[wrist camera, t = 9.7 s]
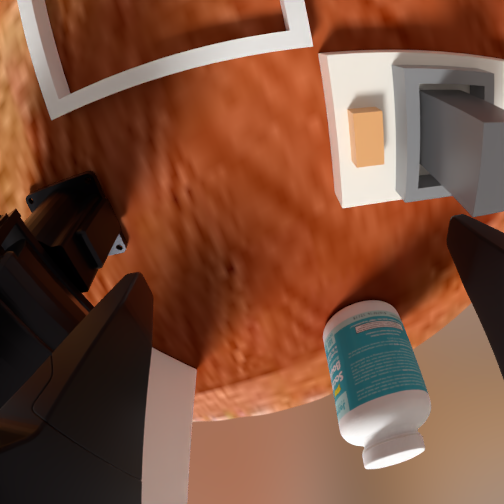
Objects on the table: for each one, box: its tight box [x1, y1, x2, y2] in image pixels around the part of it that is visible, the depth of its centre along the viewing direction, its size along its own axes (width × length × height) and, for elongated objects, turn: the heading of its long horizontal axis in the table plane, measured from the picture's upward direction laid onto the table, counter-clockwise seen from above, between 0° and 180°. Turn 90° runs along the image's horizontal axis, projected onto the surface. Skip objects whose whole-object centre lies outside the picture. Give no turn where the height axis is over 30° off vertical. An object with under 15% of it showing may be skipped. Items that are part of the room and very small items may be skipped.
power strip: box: [318, 50, 504, 208], centre depth 15 cm, size 21×9×4 cm, turn 101°
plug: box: [419, 90, 504, 217], centre depth 13 cm, size 3×4×6 cm, turn 12°
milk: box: [141, 347, 197, 504], centre depth 24 cm, size 6×6×22 cm
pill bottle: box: [323, 300, 431, 469], centre depth 23 cm, size 8×7×14 cm
